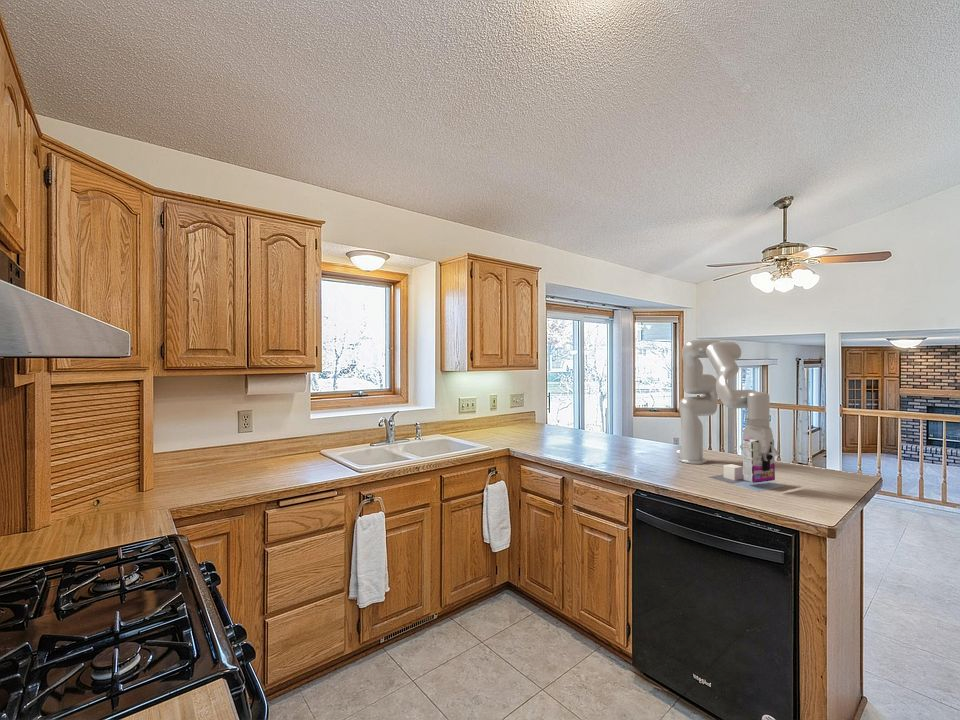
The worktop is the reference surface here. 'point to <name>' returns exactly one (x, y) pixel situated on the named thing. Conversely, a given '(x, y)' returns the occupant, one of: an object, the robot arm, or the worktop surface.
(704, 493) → the worktop surface
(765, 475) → the candy bar box
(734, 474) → the cream block
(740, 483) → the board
